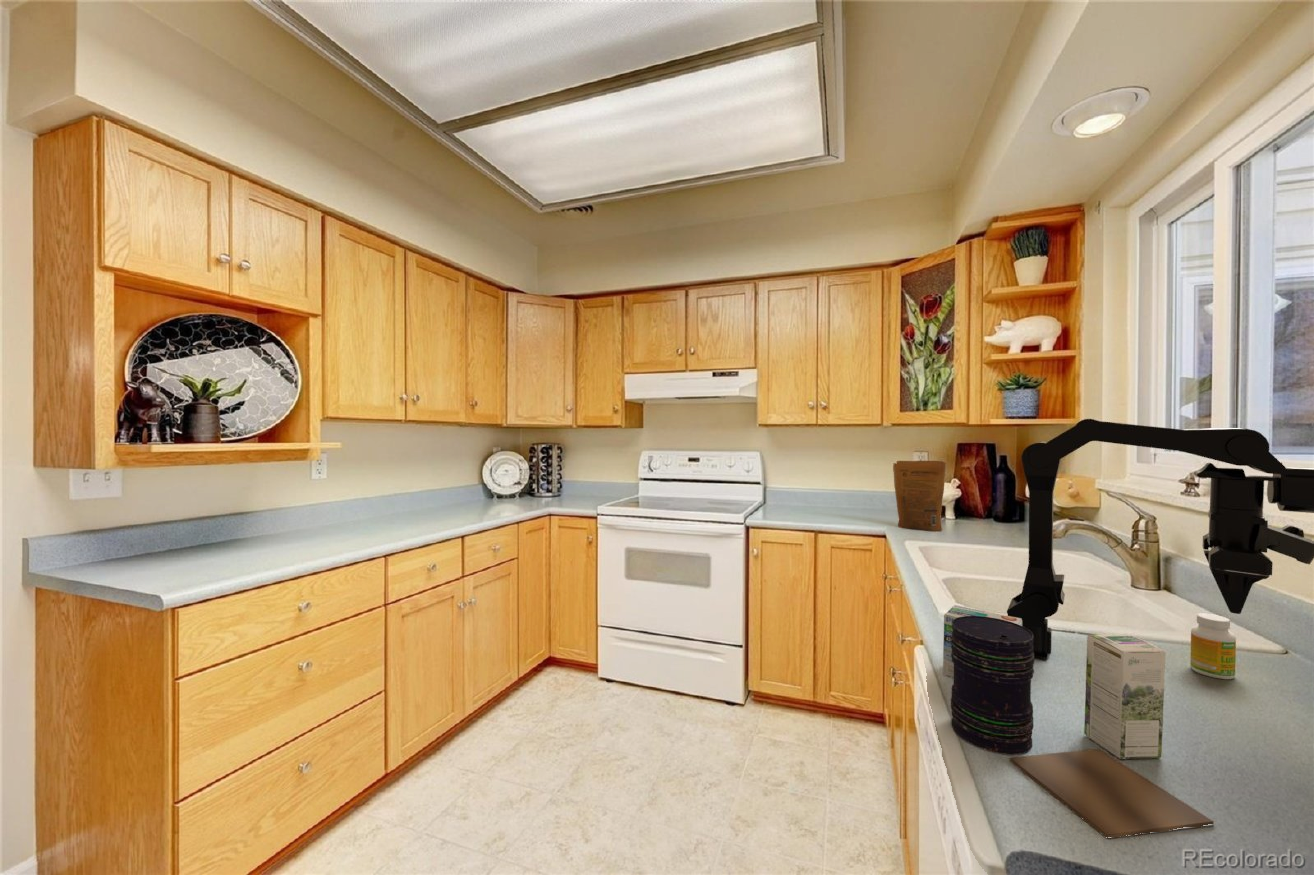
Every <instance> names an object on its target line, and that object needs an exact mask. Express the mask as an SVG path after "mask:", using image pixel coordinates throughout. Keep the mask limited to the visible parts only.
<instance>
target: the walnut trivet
mask: <svg viewBox="0 0 1314 875" xmlns="http://www.w3.org/2000/svg"><path fill="white" fill-rule="evenodd" d="M1009 762H1010V763H1011V764H1013V765H1014V766H1016V768H1017V769H1019V770H1020V771H1022V772H1023V773H1024V772H1025V773H1024V774H1025V775H1027V777H1029V778H1030V779H1031V780H1033V781H1034V782H1035V783H1037V784H1038V785H1039V786H1040V787H1042V788H1043V789H1044V790H1045V791H1047V792H1048V793H1049V794H1050V795H1052V796H1053V797H1054V798H1055V799H1056V800H1058V801H1059V802H1060V803H1061V804H1063V805H1064V806H1065V807H1067V808H1068V810H1070V809H1071V810H1070V811H1071V812H1073V813H1075V815H1077V816H1078V817H1079V818H1080V819H1082V818H1083V819H1082V820H1083V821H1084V822H1085V821H1086V822H1085V823H1087V824H1088V823H1089V824H1088V825H1089V826H1090V825H1091V826H1090V827H1092V828H1093V827H1094V828H1095V829H1096V830H1095V831H1096V832H1097V833H1099V832H1100V833H1102V834H1103V835H1104V836H1105V837H1107V838H1108V837H1119V838H1121V837H1120V836H1126V835H1127V837H1129V836H1128V835H1135V834H1140V833H1141V834H1142V833H1150V832H1159V833H1162V832H1161V831H1168V832H1170V831H1169V830H1173V829H1177V828H1183V827H1200V828H1202V827H1201V826H1203V825H1208V824H1213V825H1214V820H1212V819H1211V818H1209V817H1208V816H1206V815H1205V814H1204V813H1201V812H1200V811H1198V810H1197V809H1195V808H1194V807H1192V806H1190V805H1189V804H1188V803H1186V802H1184V801H1182V800H1181V799H1179V798H1178V797H1176V796H1175V795H1174V794H1172V793H1170V792H1168V791H1167V790H1165V789H1164V788H1162V787H1161V786H1159V785H1157V784H1156V783H1154V782H1152V781H1151V780H1149V779H1148V778H1146V777H1145V776H1143V775H1142V774H1140V773H1138V772H1137V771H1135V770H1134V769H1132V768H1131V767H1130V766H1127V765H1126V764H1124V763H1123V762H1121V761H1119V760H1118V759H1116V758H1114V757H1113V756H1112V755H1110V754H1108V753H1107V752H1105V751H1103V750H1102V749H1101V748H1094V749H1083V750H1082V749H1081V750H1074V751H1072V750H1071V751H1063V752H1055V753H1053V752H1052V753H1043V754H1033V755H1024V756H1014V757H1012V756H1011V757H1010V758H1009ZM1094 828H1093V829H1094ZM1100 833H1099V834H1100ZM1102 834H1101V835H1102ZM1103 835H1102V836H1103ZM1104 836H1103V837H1104ZM1135 836H1136V835H1135ZM1105 837H1104V838H1105ZM1107 838H1106V839H1107Z"/></svg>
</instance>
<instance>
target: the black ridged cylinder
mask: <svg viewBox="0 0 1314 875" xmlns="http://www.w3.org/2000/svg"><path fill="white" fill-rule="evenodd" d="M952 629H953V631H952V639H951V648H952V653H951V657H952V662H953V663H954V677H953V684H952V686H951V692H950V693H951V696H950V710H951V717H952V718H951V723H950V725H951V729H952V731H953V732H954V733H955V734H956V735H957V736H958V737H959V738H960V739H961V740H963V741H965V742H966V743H968V744H970V745H971V746H974V747H976V748H978V749H981V750H984V751H987V752H991V753H994V754H998V755H1005V756H1006V755H1007V756H1017V755H1018V756H1019V755H1024V754H1026V753H1028V752H1029V751H1031V750H1032V748H1033V739H1032V735H1033V730H1034V721H1035V720H1034V706H1033V703H1032V701H1031V699H1032V696H1031V695H1032V693H1031V692H1032V689H1031V688H1032V682H1031V681H1032V679H1033V678H1034V673H1035V670H1034V665H1035V657H1034V653H1033V634H1032V632H1031V631H1030V630H1028V629H1027V628H1025V627H1023V626H1020V625H1018V624H1015V623H1012V622H1009V621H1005V620H1001V619H997V618H991V617H983V616H963V617H958V618H956V619H954V620H953V621H952Z"/></svg>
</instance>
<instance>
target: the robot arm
mask: <svg viewBox="0 0 1314 875" xmlns="http://www.w3.org/2000/svg"><path fill="white" fill-rule="evenodd" d="M1091 442H1099V443H1100V442H1101V443H1107V444H1108V443H1110V444H1118V445H1126V446H1132V447H1133V446H1135V447H1143V448H1151V449H1158V450H1167V451H1168V450H1169V451H1176V452H1177V451H1178V452H1182V453H1186V454H1190V455H1194V456H1197V457H1198V456H1199V457H1202V458H1205V459H1210V460H1214V461H1217V462H1222V463H1225V464H1230V465H1233V466H1239V467H1240V466H1241V467H1242V466H1245V467H1249V468H1251V469H1252V470H1255V471H1258V472H1262V473H1265V474H1270V476H1269V475H1252V474H1251V475H1250V474H1246V472H1245V470H1244V469H1243V468H1235V467H1234V468H1233V467H1230V468H1229V467H1217V466H1215V464H1213V463H1212V462H1206V463H1205V464H1204V466H1202V467H1201V468H1199V469H1198V470H1196V471H1194V472H1193V475H1194V476H1195V477H1197V478H1200V479H1201V478H1202V479H1210V490H1209V492H1210V494H1209V495H1210V496H1209V509H1208V511H1207V513H1208V514H1207V516H1208V533H1207V534H1204V535H1203V536H1202V549H1203V554H1204V556H1205V558H1206V560H1207V562H1208V568H1209V570H1210V572H1211V574H1212V576H1213V578H1214V581H1215V583H1216V585H1217V587H1218V589H1219V591H1220V593H1221V596H1222V598H1223V600H1224V602H1225V604H1226V607H1227V609H1228V611H1229V613H1232V614H1237V615H1240V614H1241V613H1242V612H1243V609H1244V606H1245V604H1246V602H1247V599H1248V597H1249V594H1250V591H1251V589H1252V587H1253V585H1254V584H1256V583H1257V582H1259V581H1262V580H1267V579H1268V578H1270V576H1272V575H1273V563H1274V562H1273V561H1272V560H1271V559H1270V557H1268V556H1267V555H1266V553H1268V550H1270V551H1273V552H1275V553H1279V554H1281V555H1283V556H1284V555H1285V556H1287V557H1289V558H1292V559H1296V561H1297V562H1299V563H1303V564H1306V565H1311V563H1312V562H1313V560H1314V540H1312V538H1307V537H1305V534H1304V533H1305V532H1304V530H1303V529H1302V528H1300V527H1296V526H1293V525H1291V524H1286V525H1284V526H1282V527H1281V528H1278V527H1275V526H1274V527H1273V526H1270V525H1268V524H1269V523H1268V522H1269V521H1268V519H1266V518H1265V516H1264V496H1265V495H1264V494H1265V482H1267V485H1266V487H1267V488H1266V497H1267V501H1268V503H1269V504H1276V505H1277V508H1278V510H1279V511H1280V512H1290V513H1291V512H1292V513H1293V512H1294V513H1296V512H1297V513H1306V514H1308V513H1309V514H1314V468H1313V467H1312V468H1309V467H1307V468H1305V467H1286V466H1285V465H1284V464H1283V462H1282V461H1279V459H1278V458H1277V457H1275V455H1273V454H1272V453H1271V452H1270V442H1269V441H1268V439H1267V437H1266V436H1264V435H1263V434H1262V433H1261V432H1259V431H1257V430H1254V429H1249V428H1241V427H1237V428H1236V427H1227V428H1226V427H1221V428H1218V427H1217V428H1193V429H1192V428H1187V429H1184V428H1169V427H1161V426H1152V425H1141V424H1131V423H1123V422H1122V423H1121V422H1112V421H1110V422H1109V421H1102V420H1101V421H1100V420H1096V419H1095V418H1094V419H1093V418H1084V419H1081V420H1080V421H1078V422H1077V423H1076V424H1075V425H1074V426H1072V427H1071V428H1069V429H1067V430H1065V431H1064V432H1062V433H1061V434H1059V435H1057V436H1056V437H1054V438H1052V439H1050V440H1049V441H1037V442H1034V443H1032V444H1029V445H1028V446H1027V447H1025V449H1024V450H1023V451H1022V454H1021V463H1022V468H1023V469H1022V470H1023V473H1024V477H1025V482H1026V484H1027V490H1028V565H1027V569H1026V573H1025V577H1024V581H1023V586H1022V588H1021V593H1019V594H1017V595H1016V596H1015V597H1013V598H1011V600H1010V603H1009V605H1008V607H1007V609H1006V614H1007V615H1006V616H1011V617H1016V618H1021V619H1022V626H1023V627H1025V628H1027V629H1028V630H1030V631H1031V632H1032V634H1033V653H1034V658H1037V659H1040V660H1046V661H1047V660H1048V659H1049V657H1048V656H1049V655H1051V654H1052V638H1053V637H1052V631H1053V630H1052V628H1051V627H1049V620H1048V618H1049V617H1052V616H1053V615H1055V614H1057V612H1058V610H1059V606H1060V605H1061V606H1062V605H1064V603H1065V595H1066V594H1065V592H1064V588H1063V586H1064V582H1065V574H1064V573H1063V574H1060V573H1059V574H1056V571H1055V566H1054V491H1055V487H1056V483H1057V478H1058V474H1059V470H1060V465H1061V462H1062V459H1063V458H1065V457H1066V456H1069V455H1070V454H1071V453H1073V452H1076V451H1077V450H1078V449H1080V448H1082V447H1084V446H1085V445H1087V444H1089V443H1091ZM1271 474H1272V475H1271ZM1209 548H1210V550H1209Z"/></svg>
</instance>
